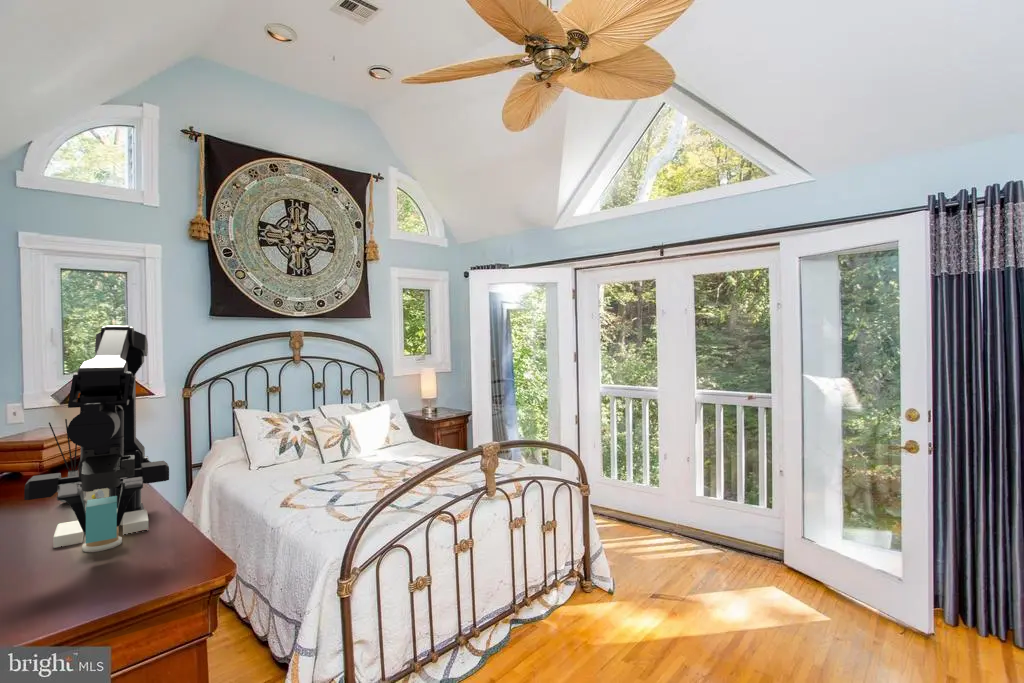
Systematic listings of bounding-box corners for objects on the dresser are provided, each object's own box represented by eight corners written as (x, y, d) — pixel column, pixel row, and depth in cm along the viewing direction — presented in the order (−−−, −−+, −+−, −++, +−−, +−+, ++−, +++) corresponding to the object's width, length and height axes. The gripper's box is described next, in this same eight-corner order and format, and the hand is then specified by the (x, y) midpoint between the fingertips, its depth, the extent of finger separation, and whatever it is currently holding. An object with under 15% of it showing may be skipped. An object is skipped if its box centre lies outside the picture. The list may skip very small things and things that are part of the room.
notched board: (58, 533, 97) (58, 523, 97) (146, 518, 106) (146, 509, 106) (53, 548, 90) (53, 537, 90) (148, 530, 99) (148, 520, 99)
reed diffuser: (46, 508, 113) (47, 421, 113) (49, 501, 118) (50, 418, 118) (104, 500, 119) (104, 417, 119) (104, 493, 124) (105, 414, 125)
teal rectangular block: (87, 534, 85) (87, 500, 85) (116, 529, 88) (116, 495, 88) (85, 543, 81) (86, 507, 82) (116, 537, 84) (116, 502, 84)
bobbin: (83, 545, 91) (83, 512, 91) (121, 537, 95) (122, 506, 95) (81, 554, 87) (81, 520, 87) (121, 546, 90) (122, 513, 91)
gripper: (19, 452, 73) (17, 558, 72) (172, 438, 84) (171, 529, 84) (29, 442, 81) (28, 536, 81) (167, 430, 93) (166, 512, 93)
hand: (101, 528), depth 85 cm, fingers closed on teal rectangular block, 4 cm apart
